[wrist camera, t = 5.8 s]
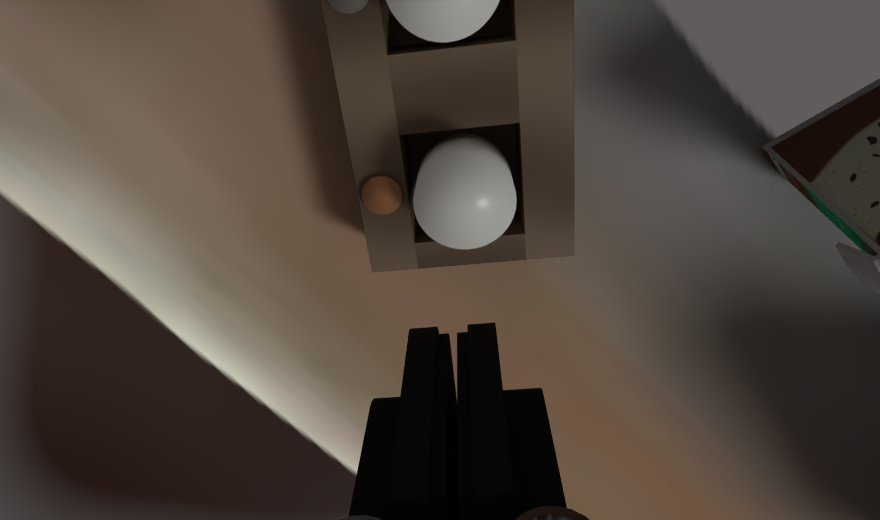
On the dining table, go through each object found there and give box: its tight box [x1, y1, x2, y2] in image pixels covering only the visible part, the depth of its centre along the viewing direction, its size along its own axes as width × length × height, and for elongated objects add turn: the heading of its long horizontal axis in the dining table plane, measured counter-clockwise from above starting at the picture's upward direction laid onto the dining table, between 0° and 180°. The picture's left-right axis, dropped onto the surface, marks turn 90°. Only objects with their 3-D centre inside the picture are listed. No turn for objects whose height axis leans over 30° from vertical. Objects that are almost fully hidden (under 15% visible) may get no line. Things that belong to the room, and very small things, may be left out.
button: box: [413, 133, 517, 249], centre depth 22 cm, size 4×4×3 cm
